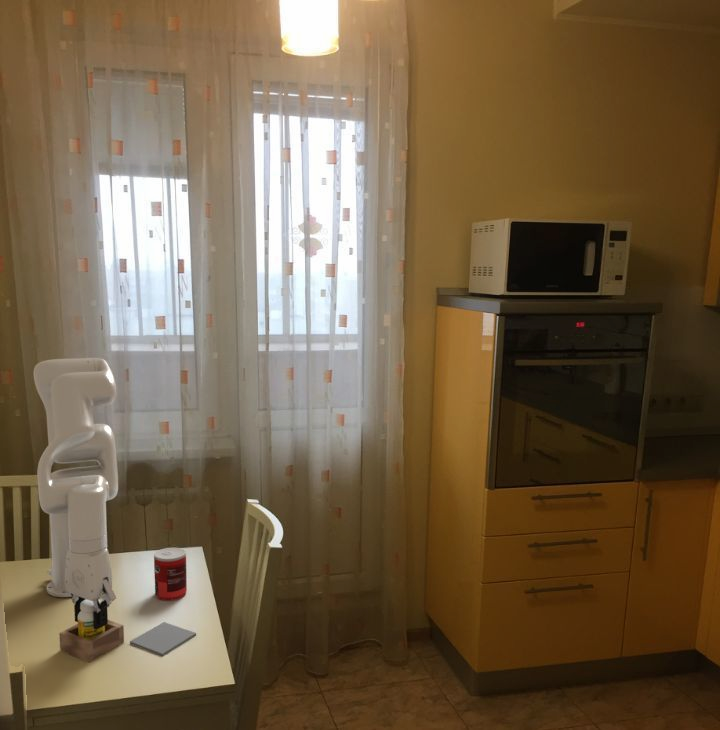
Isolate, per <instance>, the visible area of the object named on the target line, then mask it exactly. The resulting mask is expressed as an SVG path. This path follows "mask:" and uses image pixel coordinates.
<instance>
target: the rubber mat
mask: <svg viewBox="0 0 720 730" xmlns="http://www.w3.org/2000/svg"><path fill="white" fill-rule="evenodd" d="M195 636H197V632H193V630H192V631H191V630H188V629H186V628H183V627H180V626H177V625H175V624H171V623H168V622H166V621H163V622H161V623H160V624H158V625H156V626H154V627H153V628H151V629H149V630H148V631H145V632H144V633H142V634H140V635H138V636H137V637H135V638H133V639H132V640H129V644H130V645H133V646H135V647H138V648H139V649H140V648H141V649H143V650H146V651H149V652H151V653H154V654H155V655H159V656H161V657H164V656H165V655H167V654H169V653H170V652H171V651H173V650H175V649H177V648H178V647H180V646H181V645H182V644H185V643H186V642H188V641H189V640H190V639H192V638H194V637H195Z"/></svg>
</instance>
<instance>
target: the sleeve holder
mask: <svg viewBox="0 0 720 730" xmlns="http://www.w3.org/2000/svg"><path fill="white" fill-rule="evenodd" d="M124 627H125V626H124V625H123V624H120V623H118V622H115V621H112V620H110V619H108V623H107V624H106V625H105V632H104V633H102V634H100V635H98V636H96V637H94V638H92V639H90V640H87V639H84V638H82V637H79V635H78V623H76V624H75V625H72V626H70V627H69V628H67V629H65V630H62V631H61V632H59V633H58V634H59V651H60V650H61V652H62V651H63V652H62V653H65V654H67V653H68V654H67V655H69V656H72V657H74V658H76V657H77V659H79V660H81V661H84V662H86V663H88V662H89V663H91V662H92V661H94V660H96V659H98V658H100V657H101V656H103V655H105V654H106V653H108V652H111V651H112V650H113V649H115V648H118V647H119V646H121V645H122V644H124V643H125V631H124ZM90 661H91V662H90Z"/></svg>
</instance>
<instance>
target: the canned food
mask: <svg viewBox="0 0 720 730" xmlns="http://www.w3.org/2000/svg"><path fill="white" fill-rule="evenodd" d="M153 559H154V560H153V563H154V564H153V565H154V566H153V569H154V572H153V573H154V594H155V596H156V598H157V599H159V600H161V601H167V602H168V601H175V600H179V599H181V598H183V597H184V596H186V594H187V590H188V589H187V587H188V584H187V581H188V580H187V553H186V550H185V549H184V548H182V547H181V548H180V547H165V548H162V549H158V550H157V551H155V553H154V554H153Z"/></svg>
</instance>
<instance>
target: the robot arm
mask: <svg viewBox="0 0 720 730" xmlns="http://www.w3.org/2000/svg"><path fill="white" fill-rule="evenodd" d="M33 380H34V385H35V389H36V391H37V393H38V395H39V397H40V400H41V401H42V403H43V406H44V409H45V413H46V425H47V427H46V428H47V438H48V439H47V440H48V445H47V446H46V448H45V449H44V451H43V453H42V454H41V456H40V458H39V461H38V463H37V464H38V465H37V474H36V475H37V476H36V477H37V489H38V491H37V492H38V499H39V505H40V508H41V510H42V511H43V512H44V513H46V514H48V515H49V524H50V542H51V543H50V544H51V548H50V549H51V562H52V563H51V565H52V566H51V569H50V568H49V569H47V570H46V575H49V576H50V577H51V580H50V582H49V583H48V584H47V586H46V592H47V594H48V595H50V596H51V597H56V598H71V597H72V599H71V602H72V604H73V606H74V609H73V610H74V622H76V623H78V614H79V612H80V611H81V609H80V604H81V602H82V601H84V600H86V599H87V600H90V601H93V603H94V607H95V611H94V612H93V624H94V629H96V630H97V629H99V628H101V627H103V626H104V625H106V624H107V623H108V620H109V619H108V615H109V614H108V608H109V607H110V605H111V604H112V603H113V602H114V601H115V600H116V599H117V596H116V594H115V592H114V590H113V575H112V567H111V564H112V563H111V559H110V553H109V549H108V532H107V529H108V528H107V501H110V500H113V499H115V497H117V495H118V491H119V474H118V461H117V449H116V448H117V447H116V439H115V434H114V432H113V429H112V428H111V427H110V426H109V424H106V423H94V415H93V408H92V407H100V406H101V407H102V406H109V405H110V406H111V405H112V404H113V403H114V402H115V401H116V398H117V384H116V379H115V377H114V374H113V371H112V369H111V368H110V366H109V364H108V362H107V361H106V360H105V359H104V358H100V357H86V358H85V357H84V358H83V357H81V358H79V357H78V358H56V359H55V358H54V359H53V358H52V359H47V360H42V361H40V362H38V363H36V365H35V366H34V369H33ZM91 461H94V462H97V463H98V464H96V465H89V466H88V465H87V466H78V467H69V468H63V469H62V468H61V469H58V470H54V471H53V472H52V466H53V465H54V463H56V464H73V463H83V462H91ZM98 599H99V600H100V599H101V600H102V601H100V604H99V600H98Z"/></svg>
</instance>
